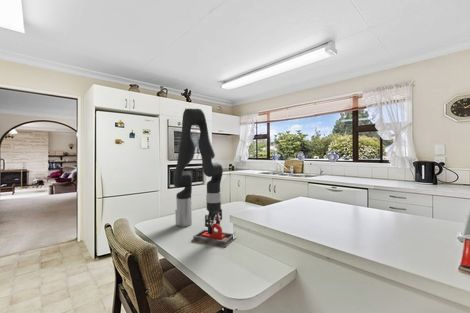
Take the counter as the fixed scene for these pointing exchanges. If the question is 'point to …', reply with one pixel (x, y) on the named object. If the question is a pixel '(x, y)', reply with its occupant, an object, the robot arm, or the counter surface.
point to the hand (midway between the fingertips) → (214, 231)
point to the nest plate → (216, 242)
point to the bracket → (215, 233)
